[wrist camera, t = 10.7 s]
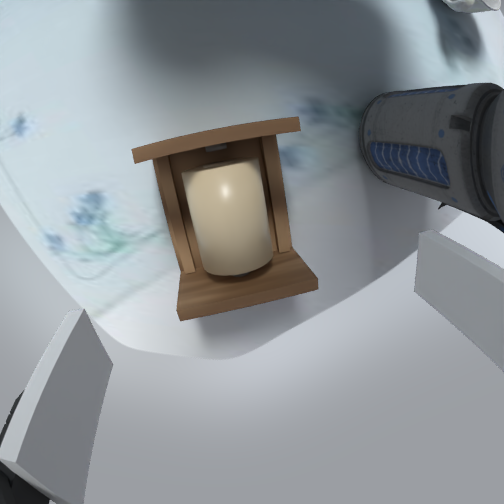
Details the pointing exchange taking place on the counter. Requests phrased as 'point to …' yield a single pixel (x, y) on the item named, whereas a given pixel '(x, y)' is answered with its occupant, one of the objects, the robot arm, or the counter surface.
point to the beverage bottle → (441, 145)
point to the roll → (229, 215)
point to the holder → (182, 231)
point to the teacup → (473, 5)
